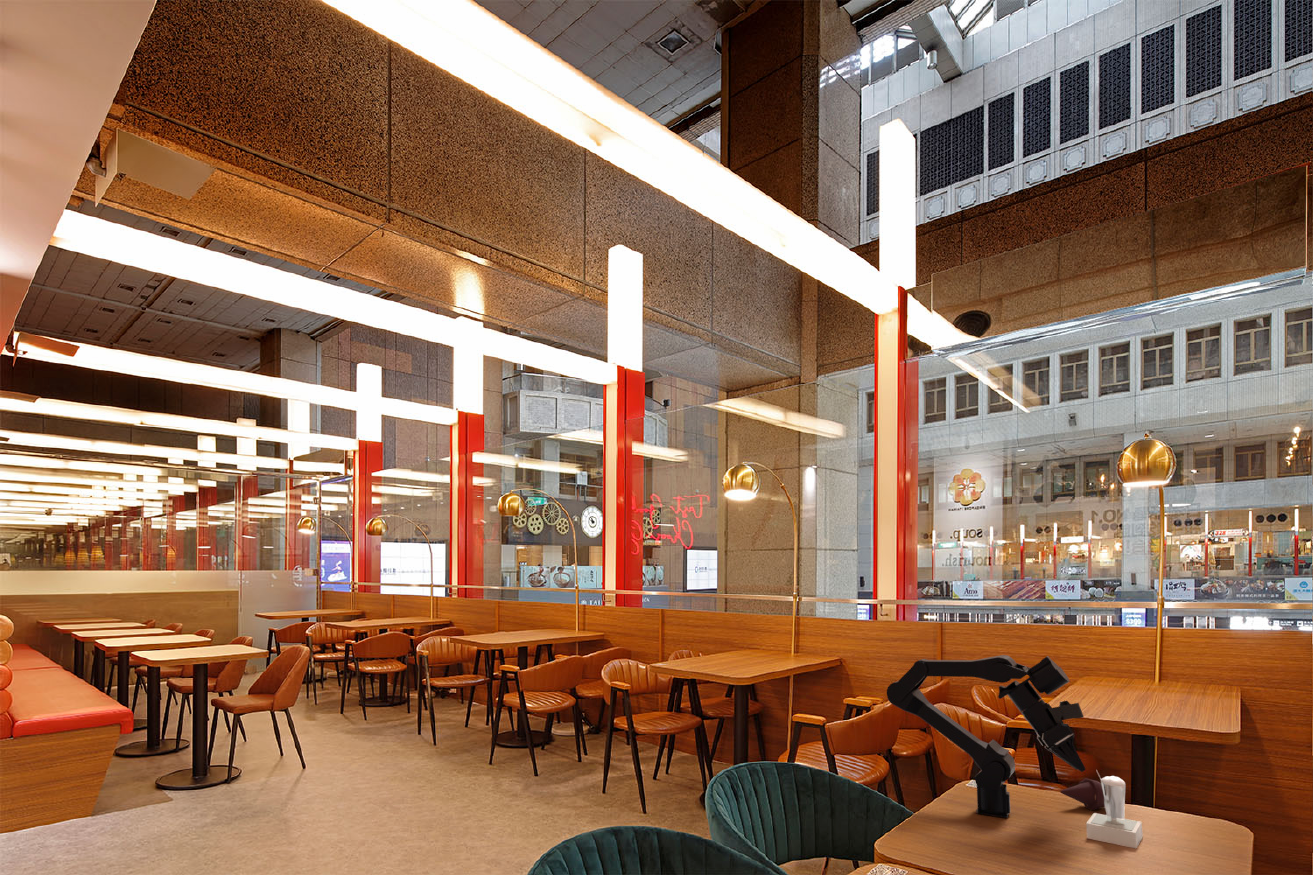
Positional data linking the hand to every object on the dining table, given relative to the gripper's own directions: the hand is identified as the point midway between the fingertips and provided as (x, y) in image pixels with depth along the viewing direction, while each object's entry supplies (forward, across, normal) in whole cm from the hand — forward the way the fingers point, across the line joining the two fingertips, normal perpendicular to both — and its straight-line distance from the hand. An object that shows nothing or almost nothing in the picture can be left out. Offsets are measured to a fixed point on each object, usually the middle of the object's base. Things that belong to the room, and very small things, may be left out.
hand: (1081, 769), depth 173 cm
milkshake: (+11, -1, +2) cm, 11 cm away
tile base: (+14, 0, +3) cm, 14 cm away
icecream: (+10, +20, +2) cm, 22 cm away
